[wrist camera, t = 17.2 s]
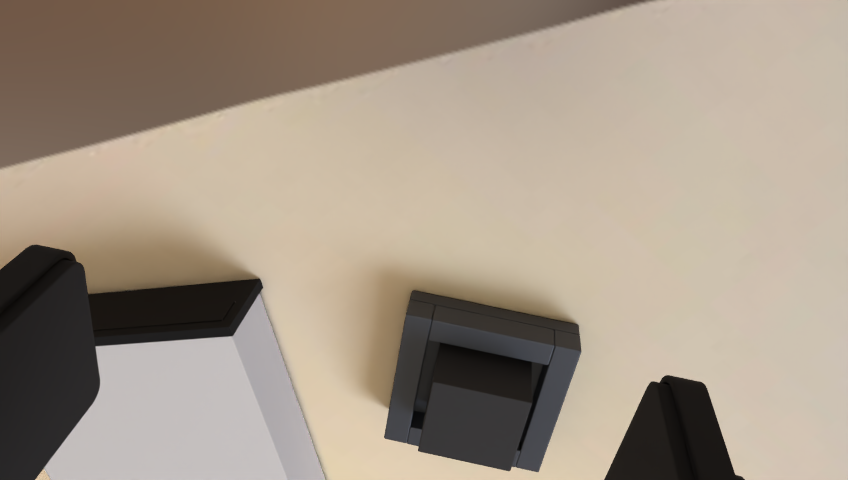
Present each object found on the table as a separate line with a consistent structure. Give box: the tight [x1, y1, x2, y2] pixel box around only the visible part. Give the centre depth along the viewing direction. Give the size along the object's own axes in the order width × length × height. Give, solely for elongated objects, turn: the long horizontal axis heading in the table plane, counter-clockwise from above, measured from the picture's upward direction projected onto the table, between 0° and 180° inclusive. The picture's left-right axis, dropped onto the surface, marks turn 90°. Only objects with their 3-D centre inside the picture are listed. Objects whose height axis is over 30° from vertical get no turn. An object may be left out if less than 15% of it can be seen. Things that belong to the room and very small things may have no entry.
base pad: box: [384, 291, 581, 472], centre depth 41 cm, size 10×10×2 cm
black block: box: [418, 342, 532, 471], centre depth 39 cm, size 6×6×4 cm
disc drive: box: [44, 279, 326, 480], centre depth 46 cm, size 18×22×5 cm
